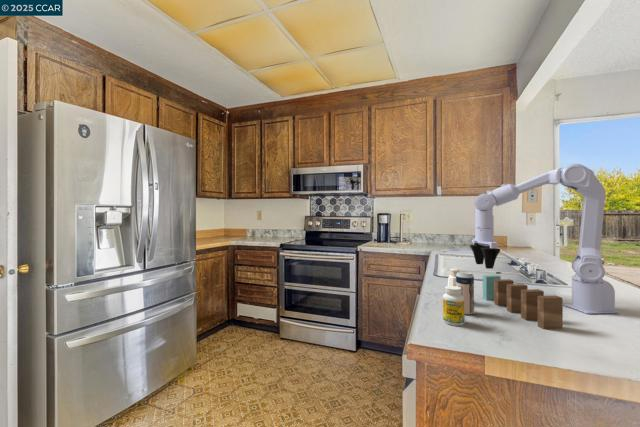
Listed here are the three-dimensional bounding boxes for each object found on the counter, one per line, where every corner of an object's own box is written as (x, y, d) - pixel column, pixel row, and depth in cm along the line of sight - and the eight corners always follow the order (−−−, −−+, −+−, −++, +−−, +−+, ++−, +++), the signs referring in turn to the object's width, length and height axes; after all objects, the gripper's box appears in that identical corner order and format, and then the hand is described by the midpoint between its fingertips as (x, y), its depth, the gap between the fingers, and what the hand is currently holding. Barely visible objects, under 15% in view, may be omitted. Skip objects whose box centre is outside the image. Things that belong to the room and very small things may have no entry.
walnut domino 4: (537, 326, 77) (537, 295, 77) (556, 325, 77) (555, 295, 77) (543, 329, 75) (543, 298, 75) (562, 328, 75) (562, 297, 75)
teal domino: (500, 299, 99) (500, 276, 99) (486, 300, 99) (486, 276, 99) (496, 298, 101) (496, 275, 101) (482, 298, 101) (482, 275, 101)
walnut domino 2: (506, 310, 89) (506, 284, 89) (522, 310, 89) (522, 283, 89) (511, 312, 87) (511, 286, 87) (527, 312, 87) (527, 285, 87)
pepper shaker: (461, 305, 94) (461, 271, 94) (444, 302, 97) (443, 269, 97) (465, 301, 98) (465, 268, 98) (448, 298, 101) (448, 266, 101)
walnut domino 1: (494, 304, 95) (494, 279, 95) (509, 303, 95) (509, 279, 95) (498, 306, 93) (498, 281, 93) (513, 305, 93) (513, 280, 93)
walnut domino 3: (521, 317, 83) (520, 289, 83) (538, 317, 83) (538, 289, 83) (526, 320, 81) (526, 291, 81) (543, 319, 81) (543, 291, 81)
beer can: (476, 316, 85) (476, 274, 85) (458, 315, 86) (458, 274, 85) (471, 310, 89) (470, 271, 89) (454, 309, 90) (454, 270, 90)
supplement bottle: (462, 319, 82) (462, 285, 82) (466, 327, 77) (465, 290, 77) (442, 317, 84) (441, 284, 83) (443, 325, 78) (443, 289, 78)
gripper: (464, 226, 112) (464, 262, 112) (481, 229, 97) (481, 270, 97) (483, 226, 111) (483, 262, 111) (504, 229, 97) (504, 270, 97)
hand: (484, 266), depth 104 cm, fingers open, 7 cm apart
